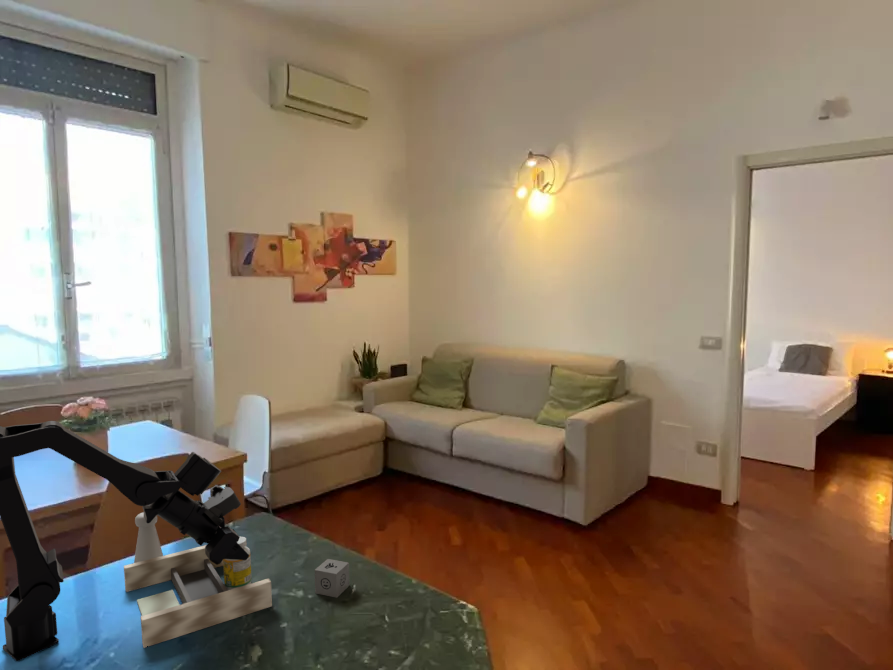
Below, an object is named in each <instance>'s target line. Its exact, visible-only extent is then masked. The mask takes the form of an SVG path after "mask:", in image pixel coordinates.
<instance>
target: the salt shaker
mask: <svg viewBox="0 0 893 670" xmlns="http://www.w3.org/2000/svg"><path fill="white" fill-rule="evenodd" d="M134 518H135V519H134V523H135V526H136V527H138V531H137V540H136V547H135V552H134V553H135V554H134V560H133V561H134V562H133V563H137V562H141V561H145V560H149V559H153V558H157V557H161V556H164V553H163V549H162V546H161V542H160V539H159V535H158V531H157V527H156V524H157V522H158V515H156V517H155V518H154V519H153V520H152V521H151V522H150V523H146V521H145V518H144V511H143V512H140V513H138V514H137V515H136V517H134Z"/></svg>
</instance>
